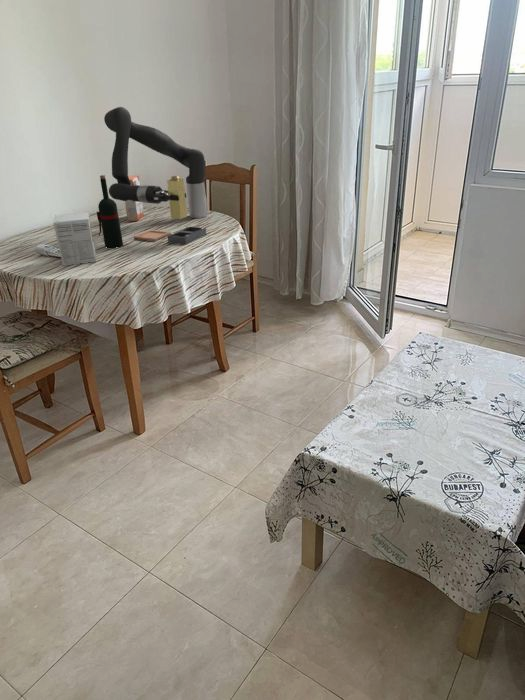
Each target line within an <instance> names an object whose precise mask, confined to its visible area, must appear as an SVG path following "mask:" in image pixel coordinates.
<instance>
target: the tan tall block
mask: <svg viewBox="0 0 525 700" xmlns="http://www.w3.org/2000/svg"><path fill="white" fill-rule="evenodd" d="M166 184H167V190H168V193H169V194H170V195H178V196H179V201H174V200H171V201H168V202H169V209H170V210H169V211H170V218H171V219H176V220H182V219H184V218H187V217H188V213H187V212H188V211H187V203H186V202H187V200H186V198H185V193H186V191H185V181H184V178H180V177H179V176H178V175H173V176H171V177H170V178H169V179H167V180H166Z"/></svg>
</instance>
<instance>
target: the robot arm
mask: <svg viewBox="0 0 525 700" xmlns="http://www.w3.org/2000/svg"><path fill="white" fill-rule="evenodd" d="M103 121H104V124H105V125H106V127H107V128H108V129H109V131H112V132H114V133H115V139H114V140H115V141H114V147H113V151H112V156H111V175H112V177H113V178H114V179H115V180H116V181H117V183H116V182H115V183H112V184H111V185H110V186H109V188H108V195H109V197H111V199H113V200H116V201H123V202H125V201H128V200H131V201H137V202H142V203H144V204H155V205H156V204H157V205H158V204H161V203H162V202H165V203H166V202H169V201H171V200H174V201H179V196H178V195H170V194H169V193H168V189H164V190H163V189H162V187H161V186H158V185H148V184H147V185H146V184H145V185H143V184H142V185H140V186H139V185H130V180H129V177H128V176H129V163H128V162H129V161H128V159H129V157H128V156H129V143H130V141H129V140H130V139H131V140H134V141H136V142H137V143H138V144H141V145H143V146H144V147H147V148H149V149H151V150H153V151H155V152H157V153H159V154H161V155H164V156H167V157H168V158H169V157H170V158H171V159H173V160H175V161H176V162H178V163H179V164H181V165H183V166H185V168H187V169H188V172H189V173H188V176H187V177H186V178H185V182H186V183H185V185H186V192H185V199H186V198H187V201H188V203H187V204H188V215H189V217H190V218H192V219H201V218H206V217H207V216H208V214H209V213H208V204H207V203H208V202H207V201H208V200H207V196H206V187H205V178H206V160H205V155H204V153H203V152H202V151H201V150H199V149H196V148H195V149H194V148H188V147H186V146H183V145H181V144H179V143H177V142H176V141H174V140H173V138H171V137H170V136H169V135H168V134H167V133H164V132H162V131H161V130H160V129H157V128H154V127H151V126H148V125H143V124H138V123H137V122H134V121H132V116H131V114H130V112H129V110H128V109H127V108H125V107H122V106H118V107H114V108H113V109H110V110H108V111H107V112H106V113H105V114H104V119H103Z"/></svg>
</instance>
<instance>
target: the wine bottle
mask: <svg viewBox="0 0 525 700" xmlns="http://www.w3.org/2000/svg"><path fill="white" fill-rule="evenodd" d="M99 178H100V179H99V180H100V186H101V190H102V197H103V198H102V199H101V200H100V201H99V203H98V211H96V216H97V221H98V226H99V233H98V237H99V236H101V233H102V236H103V242H104V248H106V247H107V248H106V249H109V248H113V249H117V248H116V247H119V248H122V247H124V241H123V235H122V230H121V224H120V223H121V222H120V218H119V211H118V205H117V202H115V200H114V199H113V198H110V195H109V189H108V185H107V180H106V175H105V174H102V175H99ZM121 246H122V247H121Z"/></svg>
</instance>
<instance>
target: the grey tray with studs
mask: <svg viewBox="0 0 525 700" xmlns="http://www.w3.org/2000/svg"><path fill="white" fill-rule="evenodd" d="M206 235H207V229H206V227H199V226H197V227H196V226H186V227H184V228H182V229H180V230H178V231H175V232H173V233H171V234H170V235H168V236H167V243H168V242H171V243H170V244H177V243H181V244H180V245H188V244H191V243H193V242H195V241H196V240H198V239H200V238H202V237H204V236H206Z"/></svg>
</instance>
